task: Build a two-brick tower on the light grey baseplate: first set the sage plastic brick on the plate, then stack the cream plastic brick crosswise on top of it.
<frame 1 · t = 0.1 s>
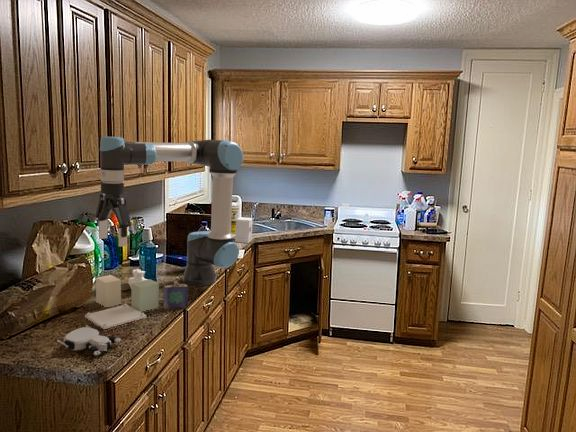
hand: (112, 242, 161), 28 cm above the countertop, tool pointing down, fingers open, 13 cm apart
supplement box: (243, 241, 293), on the countertop
sage brick: (145, 308, 176), on the countertop
baseplate: (115, 318, 165), on the countertop
flask: (175, 308, 178), on the countertop
cream brick: (108, 303, 178), on the countertop
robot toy: (90, 349, 142), on the countertop
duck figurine: (140, 292, 192), on the countertop
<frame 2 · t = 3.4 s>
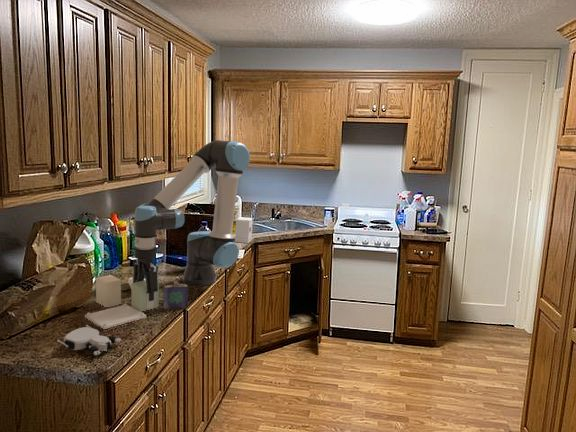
hand: (145, 305, 175), 1 cm above the countertop, tool pointing down, fingers closed on sage brick, 6 cm apart
sage brick: (145, 307, 176), on the countertop, touching gripper
everything else where it was.
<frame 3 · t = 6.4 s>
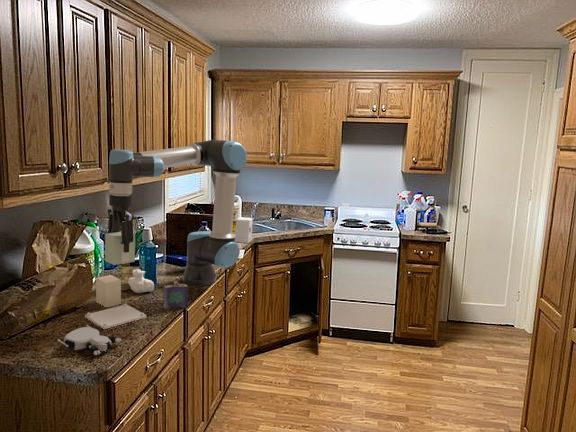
hand: (120, 258, 162), 22 cm above the countertop, tool pointing down, fingers closed on sage brick, 6 cm apart
sage brick: (119, 261, 163), point 21 cm above the countertop, touching gripper
everything else where it was.
when the fingers open (3 cm above the countertop, at t = 9.8 s): sage brick stays where it is, resting on baseplate.
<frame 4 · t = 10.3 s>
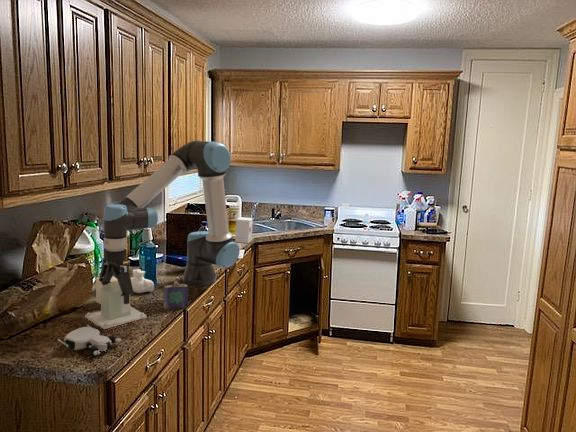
hand: (115, 306, 164), 4 cm above the countertop, tool pointing down, fingers open, 12 cm apart
sage brick: (115, 315, 164), point 1 cm above the countertop, touching baseplate
everything else where it was.
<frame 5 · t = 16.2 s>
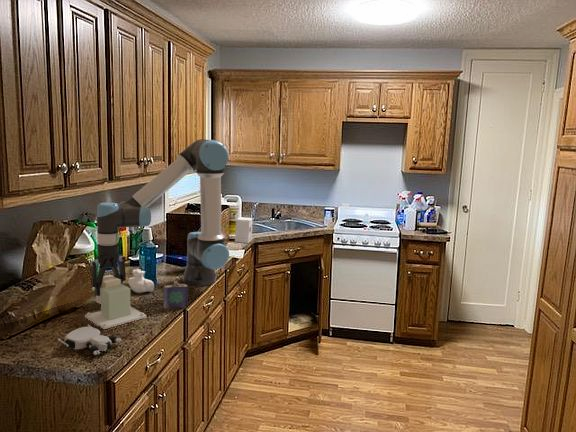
hand: (108, 301, 178), 1 cm above the countertop, tool pointing down, fingers closed on cream brick, 6 cm apart
cream brick: (108, 303, 178), on the countertop, touching gripper
everything else where it was.
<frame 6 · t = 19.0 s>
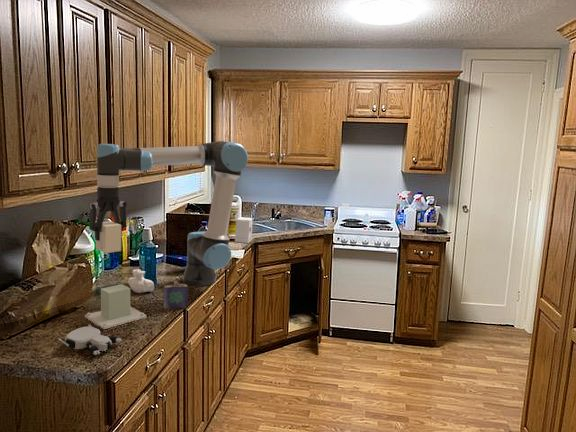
hand: (108, 247, 172), 23 cm above the countertop, tool pointing down, fingers closed on cream brick, 6 cm apart
cream brick: (108, 249, 172), point 22 cm above the countertop, touching gripper
everything else where it was.
when the fingers open (13 cm above the countertop, at t = 22.0 s): cream brick stays where it is, resting on sage brick.
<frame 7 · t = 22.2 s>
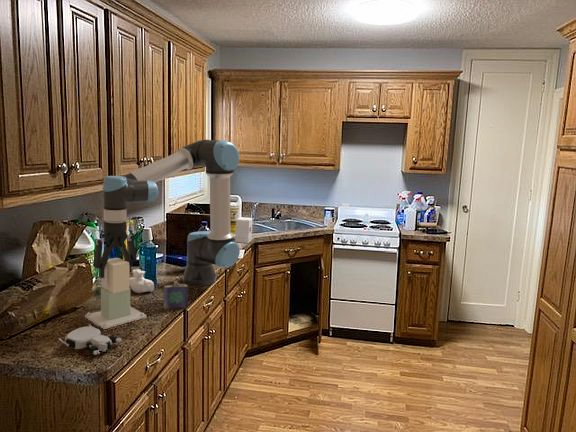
hand: (115, 283, 162), 13 cm above the countertop, tool pointing down, fingers open, 8 cm apart
sage brick: (115, 315, 164), point 1 cm above the countertop, touching baseplate, cream brick
cream brick: (115, 288, 163), point 11 cm above the countertop, touching sage brick
everything else where it was.
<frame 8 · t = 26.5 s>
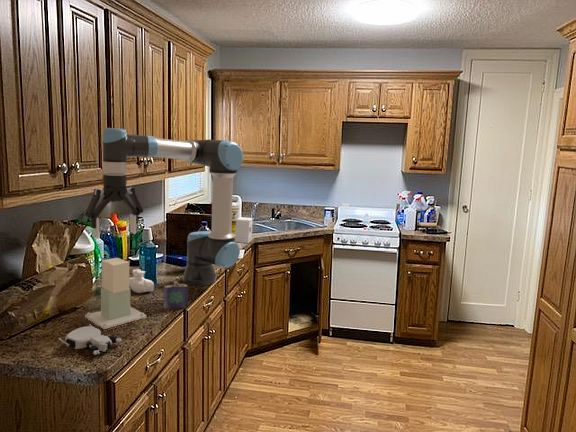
hand: (115, 235, 159), 31 cm above the countertop, tool pointing down, fingers open, 13 cm apart
nothing on the countertop moved.
at the end: sage brick inside the target area on the baseplate (0.0 cm from its centre), point 1.2 cm above the baseplate's base; cream brick 0.0 cm off-centre on the sage brick, point 10.0 cm above the sage brick's base; cream brick tilted 0° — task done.
